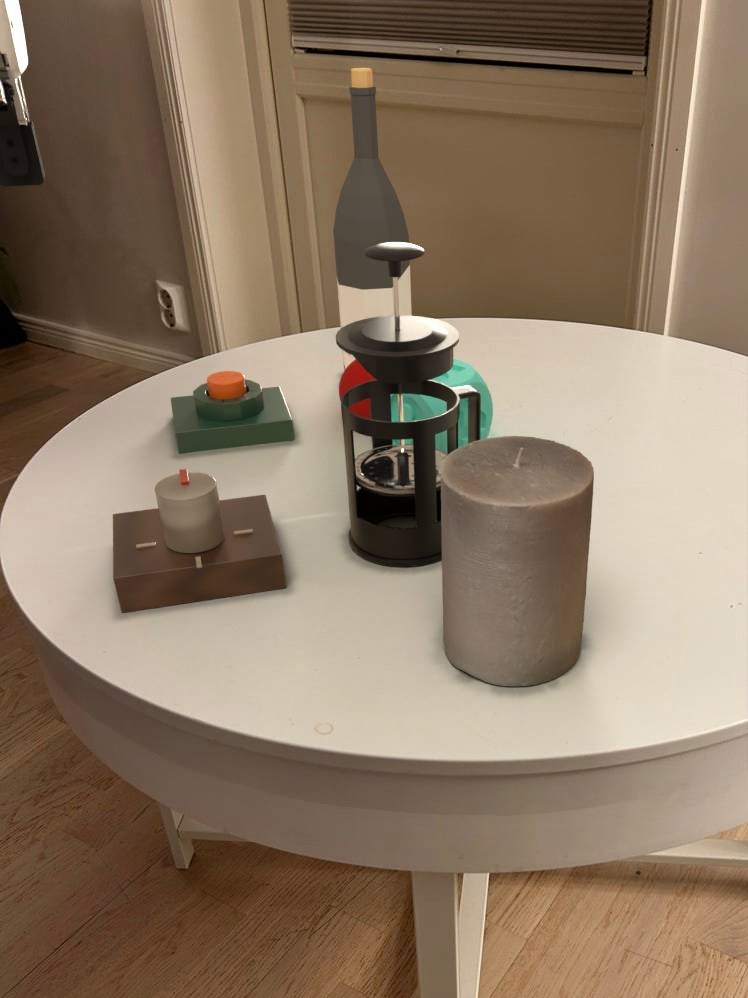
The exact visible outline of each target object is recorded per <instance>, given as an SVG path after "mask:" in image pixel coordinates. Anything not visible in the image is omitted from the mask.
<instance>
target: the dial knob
mask: <svg viewBox="0 0 748 998" xmlns="http://www.w3.org/2000/svg"><path fill="white" fill-rule="evenodd" d="M178 470H179V471H178V472H179V473H176V474H172V475H169V476H167V477H164V478H163V479H161V480H159V481H158V482H157V483H156V485H155V487H154V493H155V498H156V504H157V508H158V509H159V514H160V519H161V524H162V528H163V533H164V538H165V543H166V545H167V547H168V548H170V549H171V550H173V551H176V552H180V553H199V552H204V551H207V550H210V549H213V548H215V547H216V546H218V545H219V544H221V543H222V541H223V540H224V538H225V532H224V526H223V520H222V514H221V508H220V502H219V500H220V495H219V490H218V483H217V480H216V479H215V478H214V476H212V475H209V474H207V473H204V472H197V471H196V472H195V471H193V472H192V471H191V472H189V471H188V469H187V468H181V469H178Z"/></svg>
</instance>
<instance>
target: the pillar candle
mask: <svg viewBox="0 0 748 998" xmlns="http://www.w3.org/2000/svg"><path fill="white" fill-rule="evenodd" d="M439 466H440V468H439V470H438V473H439V474H440V476H441V477H440V478H441V526H442V560H441V584H442V585H441V590H442V591H441V593H442V594H441V597H442V631H443V632H442V642H443V648H444V649H443V650H444V653H445V655H446V657H447V660H448V661H449V663H450V664H451V665H452V666H453V667H456V668H457V669H458V670H461V671H462V672H464V673H466V674H468V675H470V676H473V677H474V678H477V679H479V680H481V681H483V682H485V683H488V684H491V685H496V686H502V687H529V686H537V685H539V684H543V683H546V682H550V681H551V680H553V679H556V678H558V677H561V676H562V675H563V674H565V673H566V672H567V671H568V670H570V669H571V667H572V666H573V665H574V664H575V663H576V662H577V660H578V659H579V657H580V655H581V651H582V639H583V629H584V621H585V609H586V607H585V605H586V598H587V581H588V568H589V567H588V566H589V555H590V542H591V530H592V528H591V527H592V517H593V516H592V514H593V499H594V483H595V471H594V467H593V464H592V461H590V460H589V459H588V458H587V457H586V456H585V455H584V454H583V453H582V452H580V451H579V450H577V449H575V448H573V447H571V446H569V445H566V444H563V443H560V442H557V441H555V440H551V439H547V438H546V439H545V438H541V437H534V436H523V435H506V436H505V435H503V436H496V437H489V438H488V437H487V439H483V440H478V441H474V442H471V443H469V444H466V445H464V446H462V447H460V448H458V449H456V450H454V451H453V452H451V453H450V454H449V455H448V456H447V457H446V458H445V459H444V460H443V461H441V462H440V464H439Z"/></svg>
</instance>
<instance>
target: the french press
mask: <svg viewBox="0 0 748 998" xmlns="http://www.w3.org/2000/svg"><path fill="white" fill-rule="evenodd" d="M425 253H426V252H425V249H424V248H423V247H421V246H419V245H416V244H413V243H410V242H409V243H401V242H389V243H381V244H376V245H373V246H370V247H368V248H367V249H365V251H364V255H365V256H366V257H368V258H371V259H374V260H380V261H388V272H389V276H390V277H393V291H394V315H395V316H381V317H373V318H368V319H363V320H359V321H356V322H353V323H350V324H348V325H346V326H344V327H342V328H341V327H340V329H338V331H337V332H336V334H335V343H336V345H337V346H338V348H339V349H341V350H344V351H345V352H346V353H347V354H349V355H353V356H354V357H355V359H356V360H357V361H358V362H359V363H360V364H361V365H362V366H363V368H364V369H365V370H366V371H367V372H368V373H369V374H370V375H372V376H373V377H374V378H375V379H376V380H372V381H368V382H364V383H361V384H358V385H356V386H354V387H352V388H350V389H349V390H347V391H346V392H345V393H344V394H343V395H342V398H341V401H340V410H341V420H342V433H343V447H344V457H345V459H344V460H345V470H346V473H345V474H346V484H347V498H348V513H349V526H350V528H349V531H348V535H347V536H348V543H349V546H350V547H351V549H352V551H353V552H354V553H355V554H356V555H357V556H359V557H361V558H362V559H364V560H365V561H368V562H371V563H374V564H377V565H381V566H388V567H395V568H397V567H399V568H401V567H402V568H409V567H419V566H425V565H430V564H433V563H436V562H439V561H442V526H441V478H440V477H441V476H440V474H439V473H438V470H439V468H440V466H439V464H440V462H441V461H443V460H444V459H445V458H446V457H447V456H448V455H449V454H450V453H451V452H453V451H454V450H456V449H458V420H459V416H460V399H465V398H468V444H469V443H471V442H474V441H478V440H480V429H481V396H480V393H479V392H478V391H476V390H475V389H474V388H473V387H471V386H461V387H456V388H451V387H450V386H448V385H445V384H443V383H441V382H437V381H433V380H430V379H433V378H436V377H439V376H441V375H443V374H445V373H447V372H448V371H449V370H450V369H451V368H452V367H453V359H454V348H455V347H456V346H457V345H458V344H459V342H460V332H459V329H457V328H456V327H455V326H454V325H452V324H450V323H448V322H446V321H443V320H440V319H436V318H432V317H427V316H420V315H419V316H418V315H412V316H401V315H399V296H398V277H400V276H402V261H407V260H410V261H412V260H416V259H420V258H421V257H423V256H424V255H425ZM390 394H398V409H399V422H392V419H391V398H390ZM402 394H418V395H425V396H430V397H434V398H438V399H441V400H443V401H445V402H447V412H445V413H443V414H441V415H438V416H435V417H432V418H428V419H424V420H417V421H406V422H404V421H403V396H402ZM368 398H369V400H370V416H371V419H368V418H364V417H361V416H358V415H356V414H354V413H352V412H350V411H349V410H348V409H349V408H350V407H351V406H353V405H354V404H356V403H358V402H360V401H362V400H365V399H368ZM446 430H447V453H446V452H443V451H441V450H439V449H436V448H435V435H436V434H438V433H441V432H444V431H446ZM354 433H357V434H358V435H359V434H360V435H362V436H366V437H370V438H371V446H372V447H371V449H368V450H366V451H363V452H362V453H360V454H358V455H357V456H356V455H355V454H356V453H355V442H354ZM392 439H394V440H400V444H397V445H393V440H392ZM404 439H413V444H404ZM355 456H356V457H355ZM358 487H359V488H358ZM402 515H414V517H415V526H411V527H410V526H408V527H395V526H394V527H393V526H384V525H380V524H377V523H376V522H378V521H380V520H382V519H386V518H389V517H394V516H402Z"/></svg>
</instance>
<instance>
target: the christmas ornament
mask: <svg viewBox="0 0 748 998" xmlns="http://www.w3.org/2000/svg"><path fill="white" fill-rule="evenodd" d="M372 380H376V379H375V378H374V377H373V376H372V375H370V374H369V373H368V372H367V371H366V370H365V369H364V368H363V366H362V365H361V364H360V363H359V362H358V361H357V360H356V359H355V360H354V361H353V362H351V363H350V364H349V365H348V367H347V368H346V369H345V370H343V372H342V374H341V377H340V380H339V384H338V396H339V401H340V402H341V398H342V395H343V394H344V393H345V392H346V391H347V390H349V389H350V388H352V387H354V386H356V385H358V384H361V383H364V382H368V381H372ZM348 410H349V411H350V412H352V413H354V414H356V415H358V416H361V417H364V418H368V419H371V416H370V400H369V398H368V399H365V400H362V401H360V402H358V403H356V404H354V405H353V406H351V407H350V408H349V409H348Z"/></svg>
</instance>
